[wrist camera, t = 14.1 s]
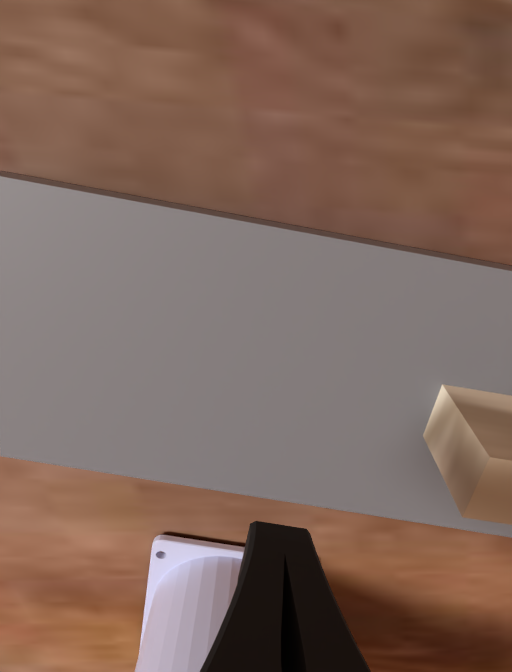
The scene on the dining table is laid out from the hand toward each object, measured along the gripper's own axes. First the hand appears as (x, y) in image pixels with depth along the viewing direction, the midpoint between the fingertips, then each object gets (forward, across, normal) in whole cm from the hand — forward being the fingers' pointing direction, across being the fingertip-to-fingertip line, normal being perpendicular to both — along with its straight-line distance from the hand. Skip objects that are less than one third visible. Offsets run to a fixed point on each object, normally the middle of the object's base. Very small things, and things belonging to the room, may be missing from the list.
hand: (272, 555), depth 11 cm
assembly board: (+9, -6, 0) cm, 11 cm away
